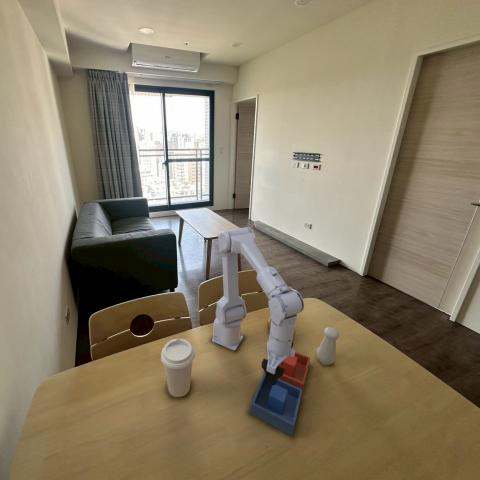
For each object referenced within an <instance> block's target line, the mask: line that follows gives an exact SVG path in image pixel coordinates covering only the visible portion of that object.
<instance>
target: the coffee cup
mask: <svg viewBox="0 0 480 480" xmlns="http://www.w3.org/2000/svg"><path fill="white" fill-rule="evenodd" d="M195 357H196V352H195V349H194V347H193V345H192V344H191V343H190V342H189V341H188V340H186V339H184V338H175V339H174V338H173V339H171V340H169V341H167V342H166V344H165V345H164V347H163V348H162V350H161V354H160V361H161V363H162V364H163V369H164V373H165V378H166V383H167V389H168V392H169V394H170V395H171V396H172V397H175V398H181V397H184V396H186V395H187V394H188V393H189V392H190V388H191V381H192V371H193V361H194V360H195Z"/></svg>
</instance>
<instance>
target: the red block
mask: <svg viewBox="0 0 480 480" xmlns="http://www.w3.org/2000/svg"><path fill="white" fill-rule="evenodd" d="M297 358H298V357H295V356H294V357H291V356H289V357H287V358H286V359H285V360H284V362H283V364H281V367H282V368H284V369H285V371H284V374H285V375H287V376H289V377H292V378H293V375H294V372H295V368H296V363H297Z"/></svg>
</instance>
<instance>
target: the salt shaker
mask: <svg viewBox="0 0 480 480" xmlns="http://www.w3.org/2000/svg"><path fill="white" fill-rule="evenodd" d="M323 335H324V338H323V340H322V341H321V343H320V345H319V347H318V348H317V350H316V358H317V360H318V361H319V362H320V364H321V365H324V366H326V367H327V366H330V365H331V364H333V363H335V361H336V359H337V340H338V339H339V338H340V333H339V331H338V329H336V328H334V327H332V326H331V327H330V326H329V327H326V328H324V331H323Z"/></svg>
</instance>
